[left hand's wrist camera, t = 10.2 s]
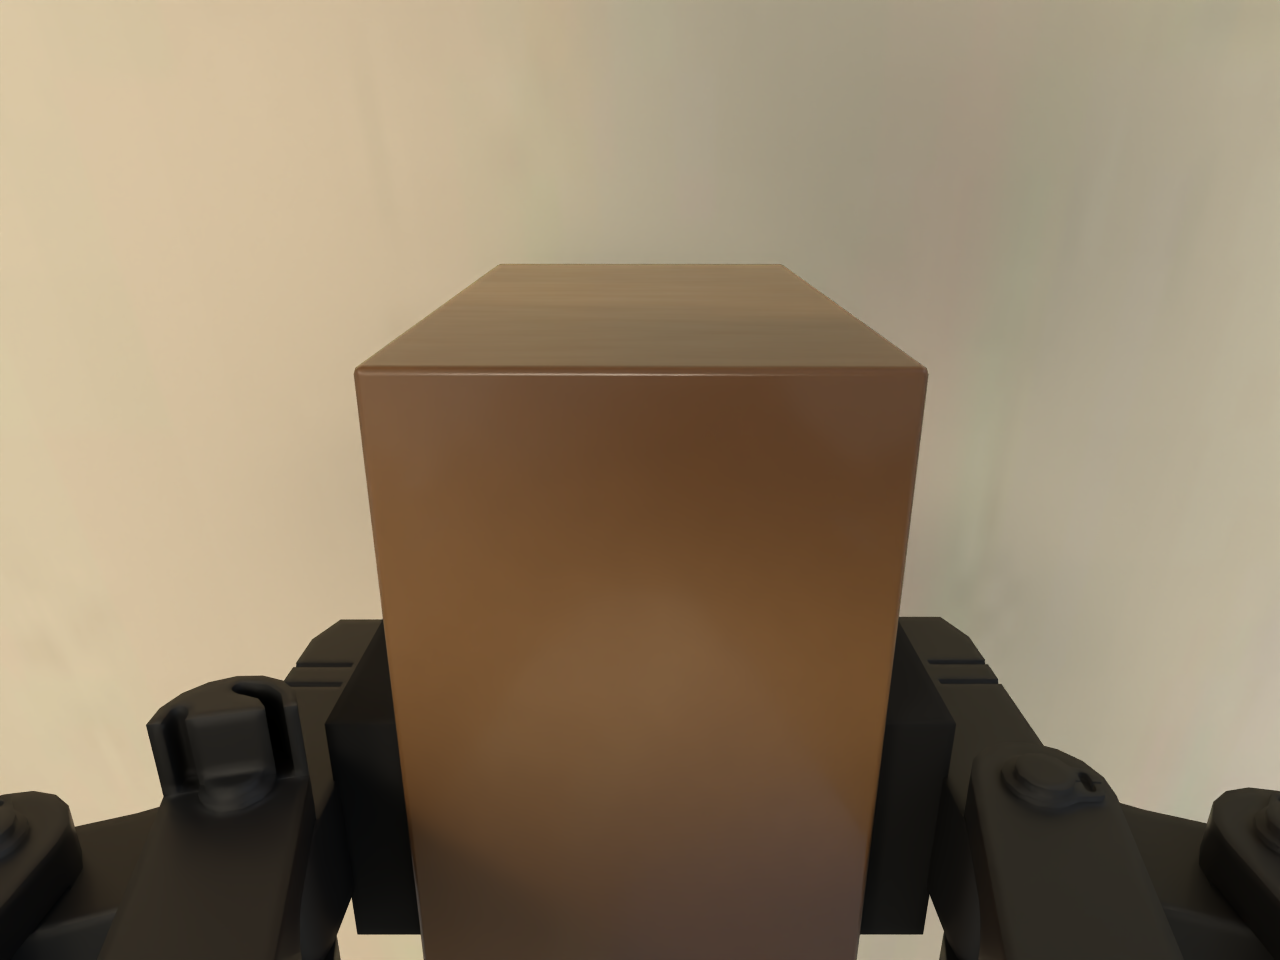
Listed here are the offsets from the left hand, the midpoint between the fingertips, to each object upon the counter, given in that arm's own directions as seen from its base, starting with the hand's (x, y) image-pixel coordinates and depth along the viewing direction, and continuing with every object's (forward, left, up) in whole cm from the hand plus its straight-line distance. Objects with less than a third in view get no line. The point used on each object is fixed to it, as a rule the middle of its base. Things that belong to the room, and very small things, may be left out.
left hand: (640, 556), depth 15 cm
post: (+21, -15, -1) cm, 25 cm away
